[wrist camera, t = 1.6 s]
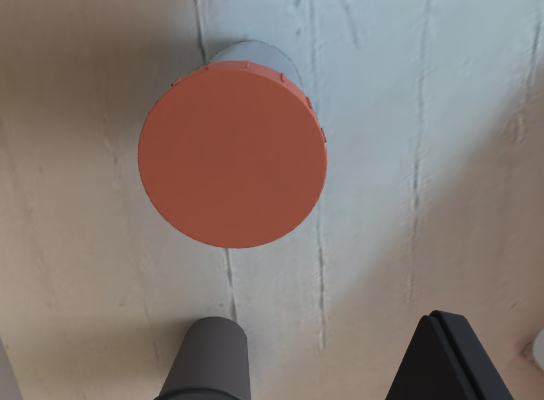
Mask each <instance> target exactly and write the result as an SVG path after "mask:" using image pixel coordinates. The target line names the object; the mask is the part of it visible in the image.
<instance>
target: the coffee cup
mask: <svg viewBox="0 0 544 400" xmlns="http://www.w3.org/2000/svg"><path fill="white" fill-rule="evenodd" d="M154 400H251V393H250V379H249V364H248V350H247V337H246V335H245V333H244V331H243V329H242V328H241V327H240V326H239V325H238V324H236V323H235V322H233V321H231V320H229V319H225V318H221V317H208V318H204V319H201V320H199V321H197V322H196V323H194V324H193V325H192V326H191V327H190V329H189V330H188V331H187V334H186V336H185V338H184V340H183V343H182V345H181V347H180V349H179V352H178V354H177V356H176V358H175V360H174V363H173V365H172V367H171V369H170V372H169V374H168V376H167V378H166V381H165V383H164V385H163V387H162V390H161V392H160V394H159V396H158V397H156V398H155V399H154Z"/></svg>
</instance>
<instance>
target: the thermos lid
mask: <svg viewBox="0 0 544 400" xmlns="http://www.w3.org/2000/svg"><path fill="white" fill-rule="evenodd" d="M171 86H172V88H170V89H169V90H168V91H167V92H166V93H165V94H164V95H163V96H162V97H161V98H160V99H159V100H158V101H157V102H156V104H155V105H154V107H153V108H152V109H151V110H150V111H149V113H148V116H147V118H146V120H145V122H144V125H143V128H142V131H141V134H140V139H139V144H138V165H139V172H140V176H141V180H142V183H143V186H144V188H145V191H146V193H147V195H148V197H149V199H150V201H151V202H152V204H153V205H154V207H155V208H156V209H157V211H158V212H159V213H160V214H161V215H162V216H163V218H164V219H165V220H166V221H167V222H169V223H170V224H171V225H172V226H173V227H174V228H176V229H177V230H179V231H180V232H182V233H183V234H185V235H187V236H189V237H191V238H192V239H194V240H197V241H200V242H202V243H205V244H208V245H212V246H216V247H223V248H250V247H255V246H260V245H263V244H266V243H269V242H272V241H274V240H276V239H279V238H281V237H283V236H284V235H286V234H287V233H289V232H291V231H292V230H293V229H294V228H296V227H297V226H298V225H299V224H300V223H301V222H302V221H303V220H304V219H305V218H306V217H307V216H308V215H309V213H310V212H311V211H312V209H313V208H314V206H315V204H316V203H317V201H318V199H319V197H320V194H321V192H322V189H323V186H324V182H325V178H326V171H327V153H326V147H325V142H326V138H325V135H324V132H323V129H322V128H320V125H319V122H318V119H317V117H316V114H315V111H314V110H313V108H312V105H311V102H310V99H309V97H307V98H306V96H305V95H304V93H303V92H302V91H301V90H300V89H299V88H298V87H297V86H296V85H295V84H294V83H293V82H292V81H290V80H289V79H288V78H287V77H285V76H284V73H283V72H282V73H279V72H277V71H275V70H273V69H271V68H269V67H267V66H264V65H260V64H257V63H253V62H250V60H247V61H234V60H230V61H221V62H216V63H214V61H212V62H211V63H210V64H208V65H205V66H203V67H201V68H198V69H196V70H194V71H193V72H191V73H189V74H187V75H186V76H185V77H182V76H181V77H180V78H179V79H178V80H176V81H175V82H174V83H173V84H172V85H171Z"/></svg>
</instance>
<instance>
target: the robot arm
mask: <svg viewBox="0 0 544 400" xmlns="http://www.w3.org/2000/svg"><path fill="white" fill-rule="evenodd" d="M385 400H514V399H513V397H512V395H511V394H510V392H509V390H508V389H507V387H506V385H505V384H504V382H503V380H502V379H501V377H500V375H499V373H498V372H497V370H496V368H495V367H494V365H493V363H492V362H491V360H490V358H489V357H488V355H487V353H486V351H485V350H484V348H483V346H482V345H481V343H480V341H479V340H478V338H477V336H476V334H475V333H474V331H473V329H472V328H471V326H470V324H469V323H468V321H467V319H466V318H465V317H464V316H462V315H458V314H453V313H448V312H443V311H438V310H435V311H432V312H431V313H430V315H429V316H427V315H425V316H423V317H422V318H421V319H420V321H419V323H418V325H417V328H416V330H415V332H414V335H413V337H412V339H411V342H410V344H409V346H408V348H407V351H406V353H405V355H404V358H403V360H402V362H401V365H400V367H399V369H398V372H397V374H396V376H395V378H394V381H393V383H392V385H391V388H390V390H389V392H388V395H387V397H386V399H385Z"/></svg>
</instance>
